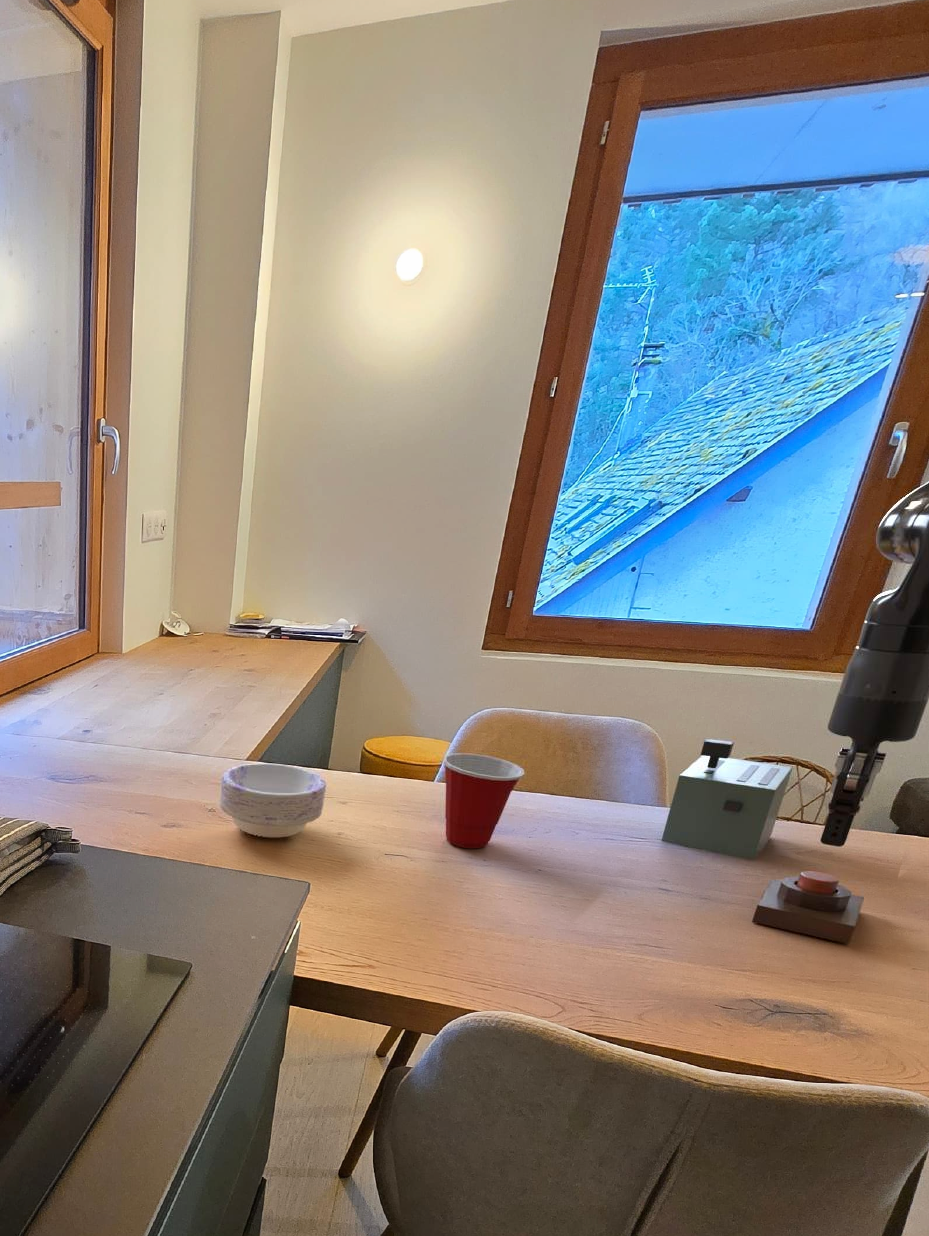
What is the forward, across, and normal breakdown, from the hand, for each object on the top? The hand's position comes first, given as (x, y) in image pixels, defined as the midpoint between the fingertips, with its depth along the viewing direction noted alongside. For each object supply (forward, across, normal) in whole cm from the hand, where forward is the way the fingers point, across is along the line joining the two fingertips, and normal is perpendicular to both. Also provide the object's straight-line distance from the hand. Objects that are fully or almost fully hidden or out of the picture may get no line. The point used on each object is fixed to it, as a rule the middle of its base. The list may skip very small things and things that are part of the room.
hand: (832, 843), depth 107 cm
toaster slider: (-2, +22, +16) cm, 28 cm away
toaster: (+9, +24, +13) cm, 29 cm away
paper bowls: (+9, -14, +65) cm, 67 cm away
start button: (+6, 0, 0) cm, 6 cm away
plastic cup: (+9, 0, +40) cm, 41 cm away
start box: (+9, 0, 0) cm, 9 cm away
